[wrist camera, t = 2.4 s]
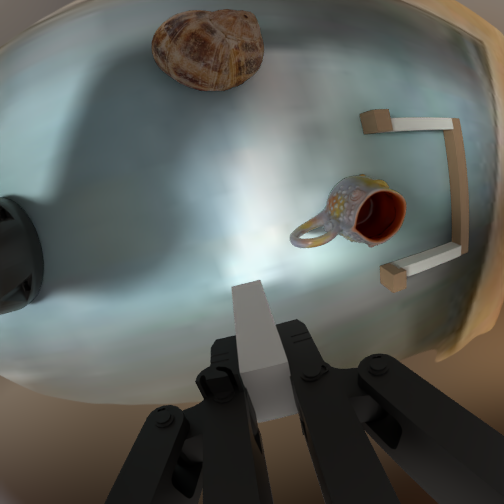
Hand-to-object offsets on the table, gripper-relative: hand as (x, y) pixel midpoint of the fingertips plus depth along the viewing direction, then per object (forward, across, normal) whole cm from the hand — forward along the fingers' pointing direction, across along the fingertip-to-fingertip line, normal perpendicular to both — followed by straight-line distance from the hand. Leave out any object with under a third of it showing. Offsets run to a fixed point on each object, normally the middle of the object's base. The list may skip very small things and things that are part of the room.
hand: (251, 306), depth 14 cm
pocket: (+16, +24, 0) cm, 28 cm away
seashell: (+16, +1, +20) cm, 25 cm away
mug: (+16, +11, 0) cm, 19 cm away
